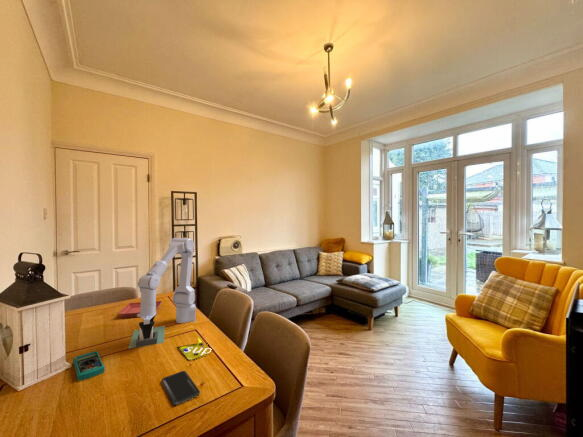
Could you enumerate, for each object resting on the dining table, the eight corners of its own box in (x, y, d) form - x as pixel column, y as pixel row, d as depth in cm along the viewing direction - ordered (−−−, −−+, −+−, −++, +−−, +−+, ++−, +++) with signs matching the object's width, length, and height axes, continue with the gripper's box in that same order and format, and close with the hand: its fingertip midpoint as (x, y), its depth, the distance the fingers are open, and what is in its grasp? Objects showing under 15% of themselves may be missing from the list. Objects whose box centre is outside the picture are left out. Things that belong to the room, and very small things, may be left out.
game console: (172, 345, 108) (172, 342, 108) (197, 337, 116) (197, 334, 116) (189, 363, 95) (189, 359, 95) (216, 353, 103) (216, 349, 103)
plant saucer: (128, 308, 150) (128, 302, 150) (162, 305, 155) (162, 300, 155) (117, 320, 132) (117, 313, 132) (155, 317, 138) (156, 310, 138)
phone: (174, 404, 73) (160, 378, 84) (174, 408, 73) (160, 382, 84) (201, 392, 78) (185, 369, 89) (201, 396, 78) (185, 373, 89)
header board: (165, 327, 124) (165, 321, 124) (163, 344, 107) (164, 337, 107) (134, 332, 118) (134, 326, 118) (128, 351, 102) (128, 343, 102)
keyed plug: (152, 338, 111) (153, 322, 111) (152, 342, 107) (152, 326, 107) (140, 340, 109) (140, 324, 109) (139, 344, 105) (139, 327, 105)
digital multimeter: (77, 383, 82) (77, 374, 82) (72, 364, 93) (72, 356, 93) (105, 374, 88) (105, 365, 88) (97, 356, 98) (97, 349, 98)
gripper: (139, 299, 113) (138, 329, 113) (135, 310, 100) (134, 344, 100) (157, 297, 116) (156, 326, 116) (155, 307, 103) (154, 340, 103)
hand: (147, 334), depth 108 cm, fingers open, 7 cm apart
